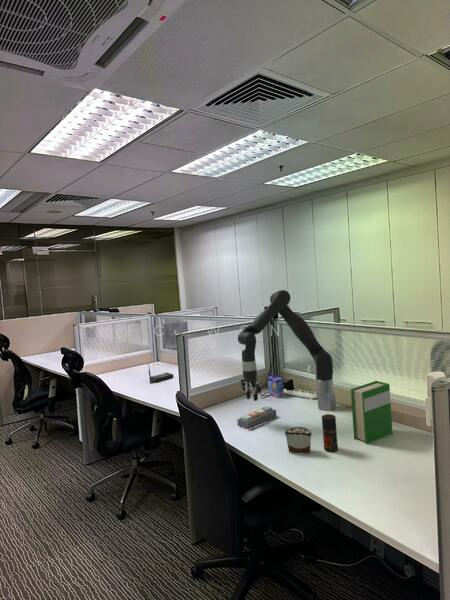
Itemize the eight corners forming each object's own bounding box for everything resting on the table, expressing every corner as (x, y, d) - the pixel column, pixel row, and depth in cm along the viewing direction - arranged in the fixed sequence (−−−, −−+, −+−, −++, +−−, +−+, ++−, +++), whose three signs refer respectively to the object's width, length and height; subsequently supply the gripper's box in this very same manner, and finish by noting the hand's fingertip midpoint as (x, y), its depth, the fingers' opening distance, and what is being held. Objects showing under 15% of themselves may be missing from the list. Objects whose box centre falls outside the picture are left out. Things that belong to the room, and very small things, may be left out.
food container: (315, 448, 176) (313, 426, 175) (313, 454, 170) (312, 432, 169) (288, 446, 180) (286, 425, 179) (285, 452, 174) (284, 431, 173)
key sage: (252, 421, 206) (251, 416, 206) (247, 424, 203) (246, 418, 203) (247, 420, 209) (246, 414, 209) (241, 422, 207) (241, 416, 206)
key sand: (265, 415, 213) (265, 410, 213) (260, 417, 210) (260, 412, 210) (260, 414, 216) (259, 408, 216) (255, 416, 213) (254, 411, 213)
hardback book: (366, 444, 175) (363, 392, 173) (354, 438, 181) (350, 389, 179) (392, 433, 183) (389, 383, 181) (379, 428, 190) (376, 380, 188)
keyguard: (276, 416, 216) (276, 409, 216) (248, 430, 201) (247, 423, 201) (266, 413, 222) (265, 406, 222) (237, 426, 207) (237, 419, 207)
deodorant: (322, 446, 176) (320, 414, 175) (335, 445, 176) (333, 413, 175) (325, 452, 170) (323, 419, 169) (339, 451, 170) (337, 418, 169)
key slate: (271, 412, 216) (271, 407, 216) (267, 414, 214) (266, 409, 213) (266, 411, 219) (266, 406, 219) (261, 413, 217) (261, 408, 216)
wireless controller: (165, 376, 327) (163, 356, 325) (174, 379, 316) (172, 358, 314) (144, 382, 314) (142, 361, 313) (152, 385, 303) (150, 364, 302)
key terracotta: (259, 418, 210) (258, 413, 209) (254, 421, 207) (253, 415, 207) (253, 416, 213) (253, 411, 212) (248, 419, 210) (248, 413, 210)
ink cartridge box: (268, 395, 254) (266, 373, 253) (275, 393, 257) (273, 371, 256) (277, 398, 245) (275, 376, 244) (284, 396, 248) (282, 374, 247)
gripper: (264, 368, 205) (266, 400, 206) (245, 365, 215) (247, 395, 217) (254, 372, 200) (256, 404, 201) (235, 368, 211) (238, 399, 212)
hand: (252, 399), depth 209 cm, fingers open, 4 cm apart
